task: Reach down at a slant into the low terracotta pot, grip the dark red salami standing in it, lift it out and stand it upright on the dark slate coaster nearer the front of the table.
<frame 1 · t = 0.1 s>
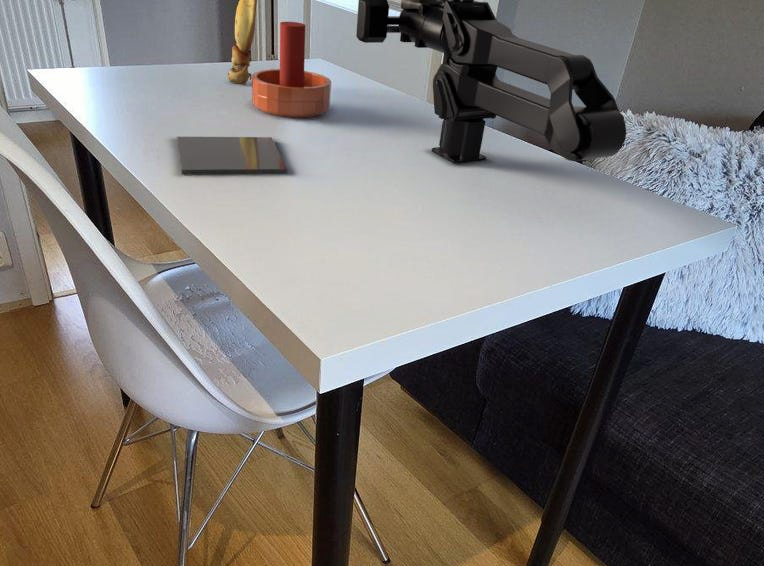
hand: (382, 11, 112), 17 cm above the table, tool horizontal, fingers open, 9 cm apart
crab claw: (243, 85, 129), on the table
coaster: (230, 156, 95), on the table
pot: (291, 107, 118), on the table
salami: (291, 104, 118), point 1 cm above the table, touching pot
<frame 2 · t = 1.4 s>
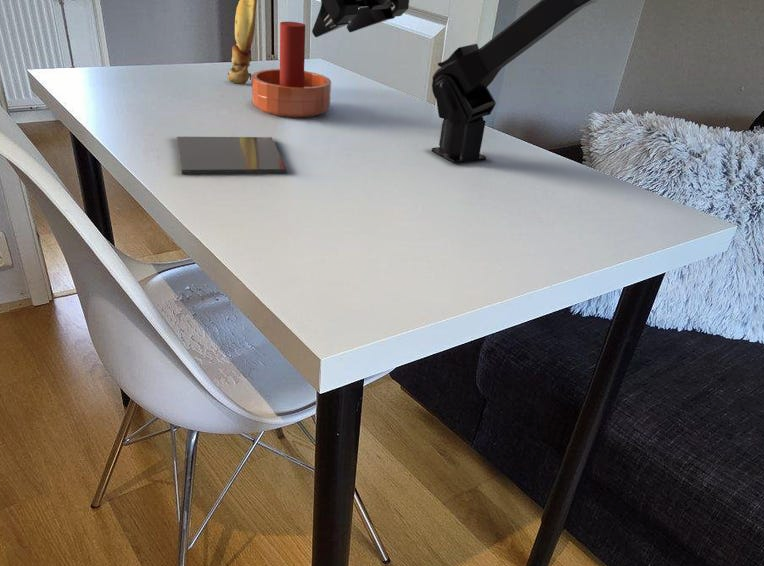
hand: (331, 32, 107), 14 cm above the table, tool tilted 45°, fingers open, 9 cm apart
nothing on the table moved.
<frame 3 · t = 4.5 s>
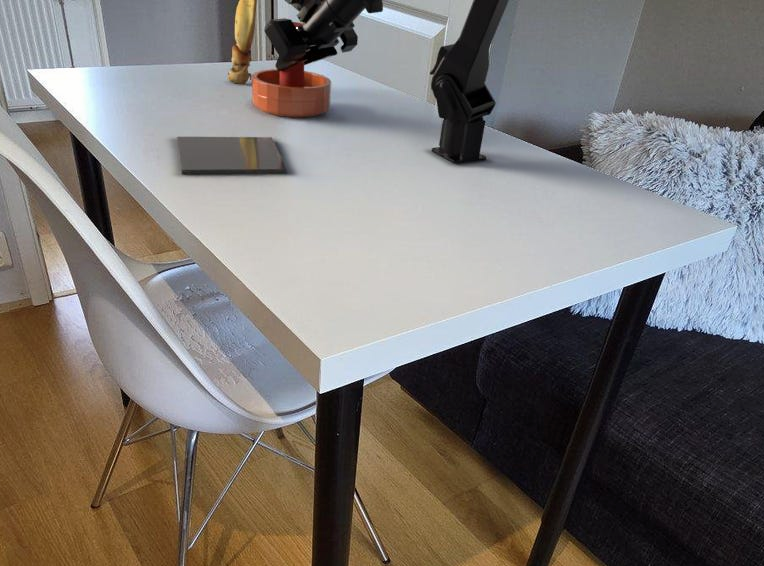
hand: (285, 67, 115), 7 cm above the table, tool tilted 45°, fingers closed on salami, 4 cm apart
salami: (291, 104, 118), point 1 cm above the table, touching gripper, pot
everything else where it was.
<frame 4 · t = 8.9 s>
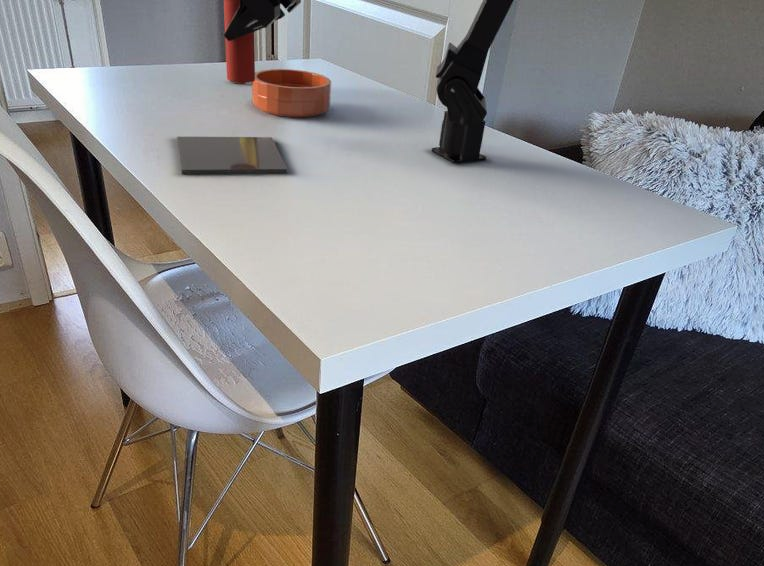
hand: (230, 35, 98), 13 cm above the table, tool tilted 45°, fingers closed on salami, 4 cm apart
salami: (241, 79, 101), point 8 cm above the table, touching gripper
everything else where it was.
when the fingers open (7 cm above the table, at t = 13.2 s): salami stays where it is, resting on coaster.
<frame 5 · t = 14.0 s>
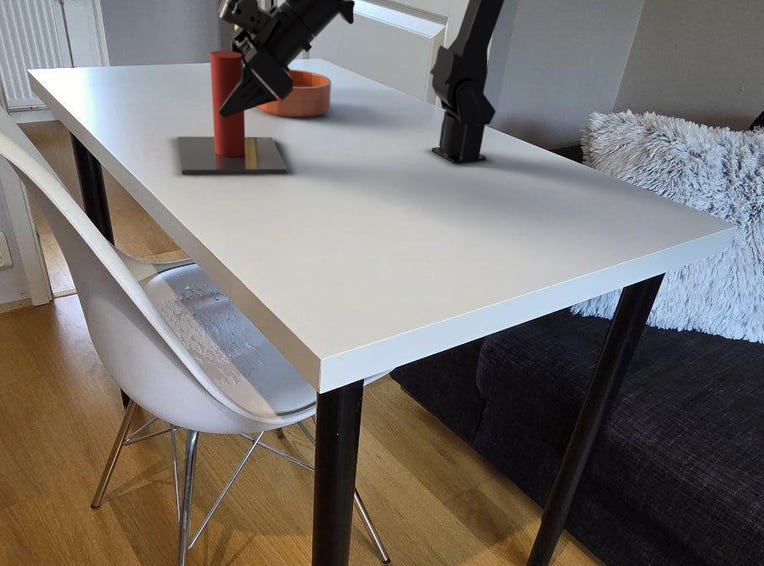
hand: (217, 105, 90), 7 cm above the table, tool tilted 45°, fingers open, 9 cm apart
salami: (230, 152, 94), point 1 cm above the table, touching coaster
everything else where it was.
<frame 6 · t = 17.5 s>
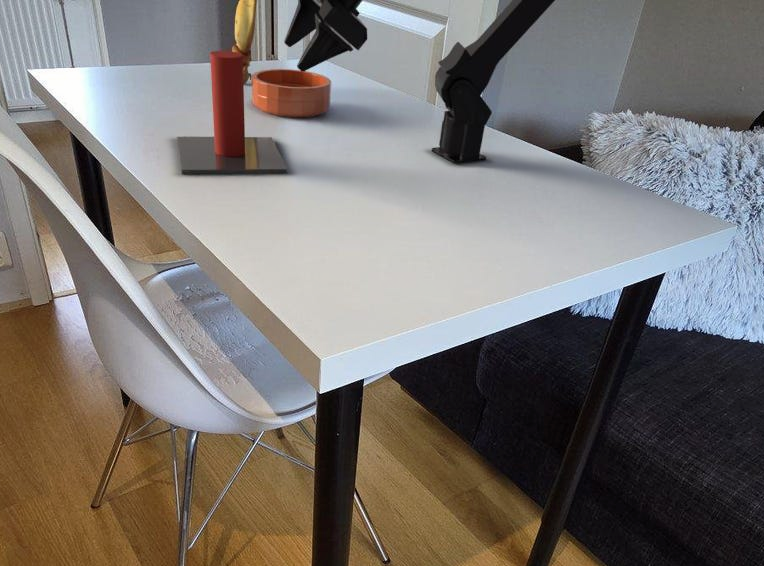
hand: (292, 56, 94), 13 cm above the table, tool tilted 35°, fingers open, 9 cm apart
nothing on the table moved.
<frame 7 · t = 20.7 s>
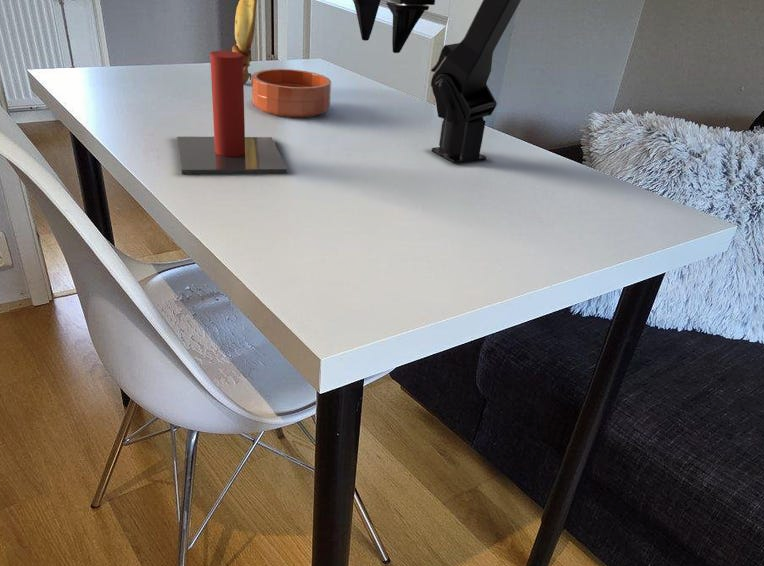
hand: (380, 46, 105), 13 cm above the table, tool pointing down, fingers open, 9 cm apart
nothing on the table moved.
at the end: salami inside the target area on the coaster (0.0 cm from its centre), point 0.6 cm above the coaster's base; salami tilted 0°; salami touching coaster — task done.
